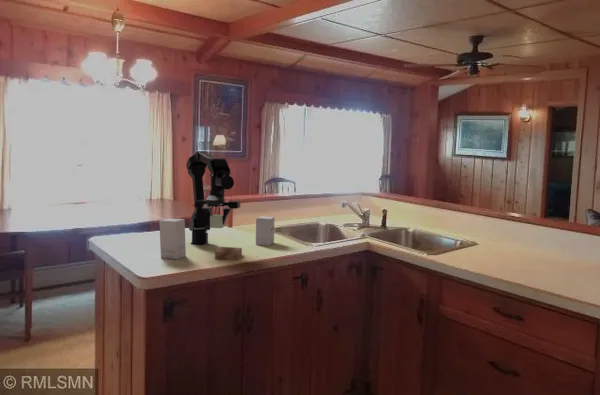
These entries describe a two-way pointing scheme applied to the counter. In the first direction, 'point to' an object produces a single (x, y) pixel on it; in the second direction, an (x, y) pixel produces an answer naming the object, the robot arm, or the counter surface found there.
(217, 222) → the sage cube
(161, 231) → the skincare box
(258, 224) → the supplement box
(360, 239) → the counter surface
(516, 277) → the counter surface
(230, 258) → the walnut block
